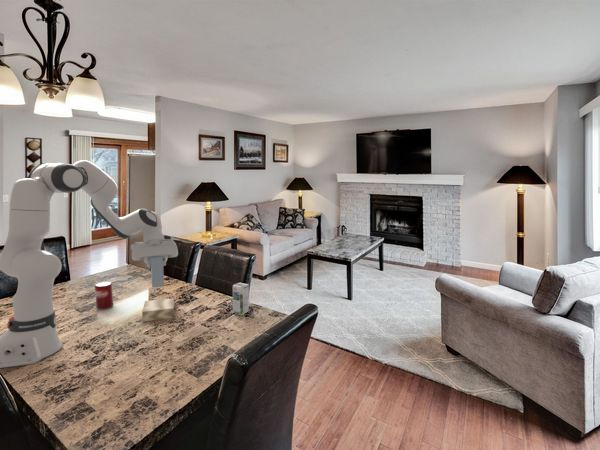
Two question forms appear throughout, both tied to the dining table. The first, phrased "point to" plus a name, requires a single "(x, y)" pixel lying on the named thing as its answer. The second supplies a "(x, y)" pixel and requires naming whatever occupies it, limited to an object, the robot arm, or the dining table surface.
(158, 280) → the slate block
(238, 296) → the syrup box
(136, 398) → the dining table surface
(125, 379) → the dining table surface
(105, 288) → the soda can
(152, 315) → the birch block
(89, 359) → the dining table surface
